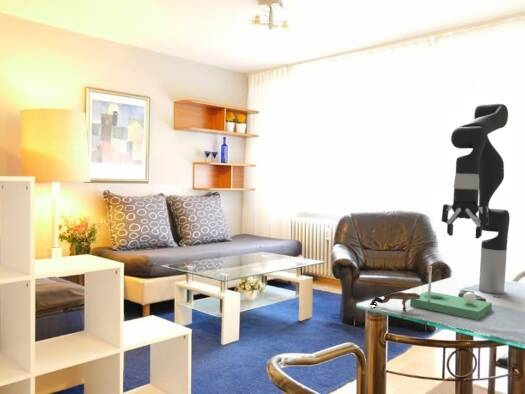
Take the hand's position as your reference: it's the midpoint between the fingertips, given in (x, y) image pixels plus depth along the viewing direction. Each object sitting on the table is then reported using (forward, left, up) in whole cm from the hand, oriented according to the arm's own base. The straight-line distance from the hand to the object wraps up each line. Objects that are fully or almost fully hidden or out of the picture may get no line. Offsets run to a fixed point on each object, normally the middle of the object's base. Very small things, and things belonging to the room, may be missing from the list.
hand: (463, 236), depth 155 cm
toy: (+13, -17, -26) cm, 33 cm away
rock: (-16, -1, -26) cm, 30 cm away
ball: (-3, +2, -21) cm, 21 cm away
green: (-3, -4, -25) cm, 26 cm away
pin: (+5, -9, -23) cm, 25 cm away
